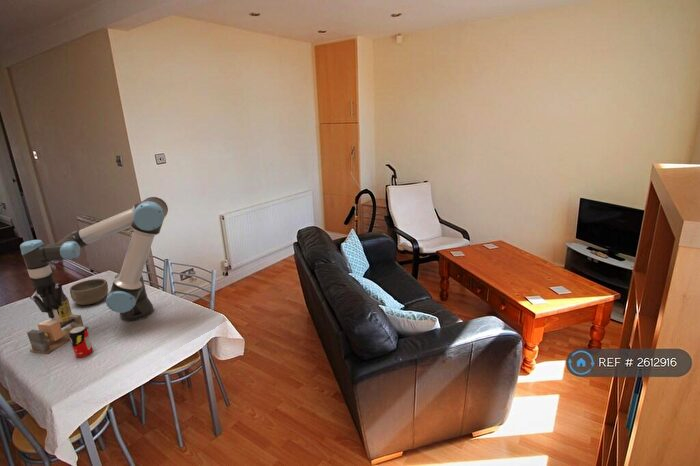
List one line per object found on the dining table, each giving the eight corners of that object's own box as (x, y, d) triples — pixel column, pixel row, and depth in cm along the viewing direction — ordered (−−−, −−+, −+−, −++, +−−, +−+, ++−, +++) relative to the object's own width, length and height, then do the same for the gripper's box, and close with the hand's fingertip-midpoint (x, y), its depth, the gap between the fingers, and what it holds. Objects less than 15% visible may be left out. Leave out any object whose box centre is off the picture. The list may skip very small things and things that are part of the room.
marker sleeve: (63, 335, 165) (58, 320, 163) (55, 341, 162) (50, 325, 159) (51, 334, 167) (45, 319, 164) (42, 339, 163) (37, 324, 160)
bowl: (102, 290, 214) (98, 275, 211) (116, 298, 204) (112, 282, 201) (68, 302, 201) (63, 286, 198) (80, 312, 191) (75, 294, 188)
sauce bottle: (65, 326, 178) (54, 289, 172) (55, 324, 180) (43, 288, 173) (77, 319, 184) (66, 283, 178) (67, 317, 186) (56, 282, 180)
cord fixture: (71, 326, 178) (66, 308, 175) (88, 328, 176) (83, 310, 173) (29, 351, 159) (23, 332, 156) (48, 354, 157) (41, 334, 154)
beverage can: (82, 349, 160) (75, 325, 156) (96, 349, 160) (89, 325, 156) (71, 358, 154) (64, 333, 150) (86, 358, 154) (79, 333, 150)
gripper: (48, 268, 165) (63, 314, 172) (18, 281, 153) (35, 330, 160) (62, 269, 163) (76, 315, 171) (33, 282, 151) (49, 331, 159)
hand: (56, 322), depth 165 cm, fingers closed
